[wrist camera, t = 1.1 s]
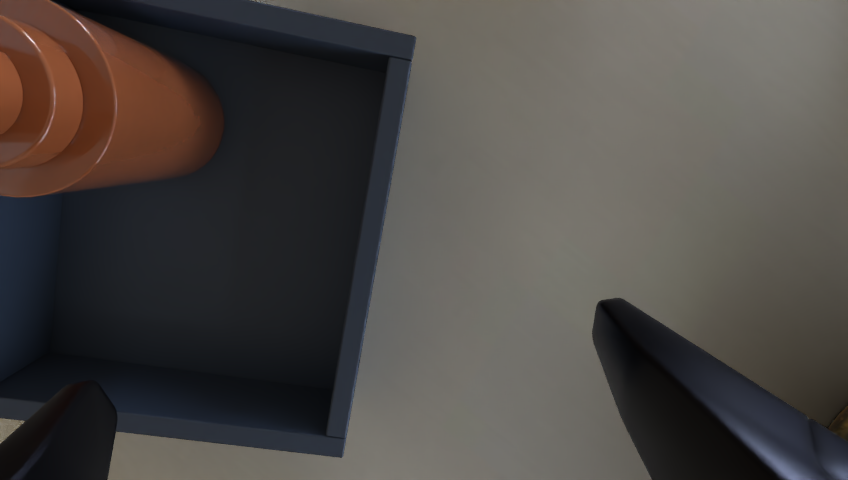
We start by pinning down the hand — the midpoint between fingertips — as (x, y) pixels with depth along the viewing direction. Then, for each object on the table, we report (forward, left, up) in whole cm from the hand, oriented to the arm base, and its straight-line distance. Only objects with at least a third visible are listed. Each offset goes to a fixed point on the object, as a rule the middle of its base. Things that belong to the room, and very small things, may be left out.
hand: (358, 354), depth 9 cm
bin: (0, +6, -14) cm, 15 cm away
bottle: (+3, +9, -13) cm, 16 cm away
